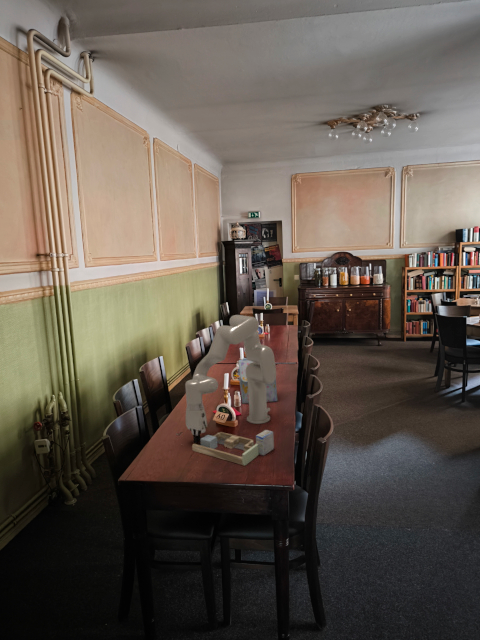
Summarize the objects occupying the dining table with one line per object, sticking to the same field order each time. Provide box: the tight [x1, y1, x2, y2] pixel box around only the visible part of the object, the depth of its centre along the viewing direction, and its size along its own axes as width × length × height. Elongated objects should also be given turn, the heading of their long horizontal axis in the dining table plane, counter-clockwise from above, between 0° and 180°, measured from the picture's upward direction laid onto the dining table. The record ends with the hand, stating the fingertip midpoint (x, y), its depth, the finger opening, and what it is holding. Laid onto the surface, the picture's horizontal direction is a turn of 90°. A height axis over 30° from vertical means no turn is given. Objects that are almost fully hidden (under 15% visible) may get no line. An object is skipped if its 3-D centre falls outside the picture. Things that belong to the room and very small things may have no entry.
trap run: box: [191, 431, 255, 466], centre depth 200 cm, size 18×28×3 cm, turn 56°
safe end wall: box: [241, 443, 260, 466], centre depth 189 cm, size 11×1×5 cm, turn 146°
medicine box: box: [255, 429, 275, 456], centre depth 196 cm, size 8×4×9 cm, turn 141°
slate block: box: [200, 434, 218, 450], centre depth 202 cm, size 6×6×5 cm
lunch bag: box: [237, 357, 278, 404], centre depth 261 cm, size 22×17×26 cm
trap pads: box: [217, 439, 245, 451], centre depth 205 cm, size 5×18×1 cm, turn 56°
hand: (197, 442), depth 207 cm, fingers closed
